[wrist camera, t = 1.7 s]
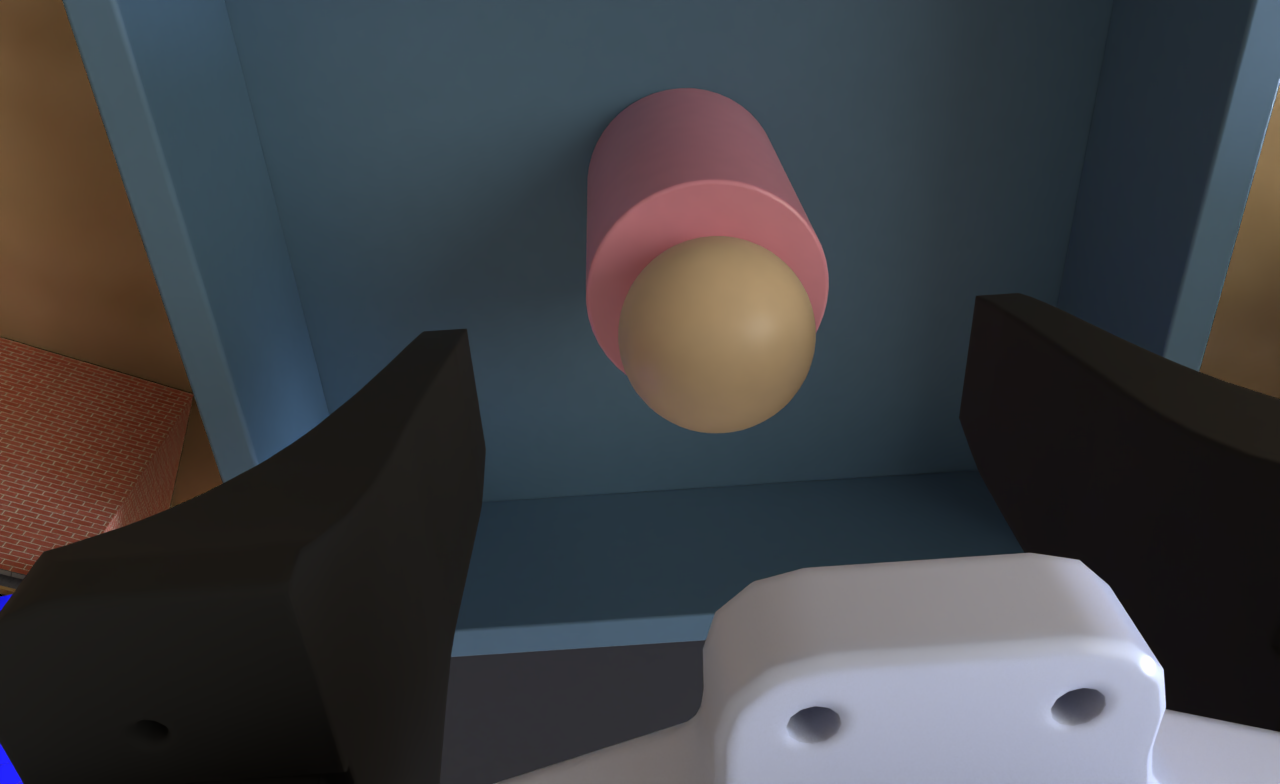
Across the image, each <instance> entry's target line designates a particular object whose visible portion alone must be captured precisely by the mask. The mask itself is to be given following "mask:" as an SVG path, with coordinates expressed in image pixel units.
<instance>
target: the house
mask: <svg viewBox="0 0 1280 784" xmlns="http://www.w3.org/2000/svg"><path fill="white" fill-rule="evenodd" d="M193 396H194V394H191V393H187V392H184V391H180V390H177V389H174V388H170V387H167V386H163V385H160V384H157V383H153V382H150V381H147V380H143V379H140V378H136V377H133V376H130V375H126V374H123V373H120V372H116V371H113V370H109V369H106V368H103V367H99V366H96V365H92V364H89V363H86V362H82V361H79V360H76V359H72V358H69V357H65V356H62V355H59V354H55V353H52V352H49V351H45V350H42V349H38V348H35V347H32V346H28V345H25V344H21V343H18V342H15V341H11V340H8V339H5V338H1V337H0V594H3V595H6V596H0V611H1V610H2V608H3V607H4V606H5V604H6V603H7V601H8V600H9V599H10V597H11V596H12V594H13V593H14V592H15V590H16V589H17V587H18V586H19V585H20V583H21V582H22V580H23V579H24V578H25V576H26V575H27V573H28V572H29V571H30V569H31V568H32V566H33V565H34V564H35V562H36V561H37V560H38V558H39V557H40V556H41V554H42V553H43V552H44V551H48V550H51V549H55V548H58V547H62V546H65V545H68V544H71V543H74V542H77V541H80V540H83V539H87V538H90V537H93V536H96V535H99V534H102V533H105V532H108V531H111V530H115V529H118V528H121V527H124V526H126V525H129V524H132V523H134V522H137V521H140V520H142V519H145V518H147V517H150V516H152V515H155V514H157V513H160V512H162V511H165V510H167V509H170V504H171V499H172V494H173V490H174V485H175V480H176V476H177V471H178V466H179V461H180V457H181V452H182V447H183V443H184V438H185V433H186V429H187V424H188V419H189V414H190V410H191V405H192V400H193ZM0 784H23V782H22V780H21V779H20V777H19V775H18V773H17V772H16V770H15V768H14V766H13V765H12V763H11V761H10V759H9V758H8V756H7V754H6V752H5V751H4V749H3V747H2V746H1V744H0Z"/></svg>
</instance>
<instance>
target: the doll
mask: <svg viewBox="0 0 1280 784" xmlns="http://www.w3.org/2000/svg"><path fill="white" fill-rule="evenodd" d="M828 290H829V277H828V268H827V262H826V258H825V255H824V252H823V248H822V245H821V243H820V241H819V239H818V237H817V235H816V233H815V231H814V229H813V227H812V225H811V223H810V221H809V219H808V217H807V215H806V213H805V211H804V209H803V207H802V205H801V203H800V201H799V199H798V197H797V195H796V193H795V191H794V189H793V187H792V185H791V183H790V181H789V179H788V177H787V175H786V173H785V171H784V169H783V166H782V164H781V162H780V160H779V158H778V156H777V154H776V152H775V150H774V148H773V146H772V144H771V142H770V140H769V138H768V136H767V134H766V132H765V131H764V129H763V128H762V126H761V125H760V123H759V122H758V121H757V120H756V119H755V118H754V117H753V116H752V114H751V113H750V112H748V111H747V110H746V109H745V108H743V107H742V106H741V105H739V104H738V103H736V102H735V101H733V100H731V99H730V98H727V97H725V96H723V95H720V94H718V93H714V92H711V91H707V90H702V89H695V88H678V89H670V90H664V91H661V92H657V93H653V94H651V95H649V96H646V97H644V98H641V99H640V100H638V101H636V102H634V103H633V104H631V105H630V106H628V107H627V108H626V109H624V110H623V111H622V112H620V113H619V114H618V115H617V116H616V117H615V118H614V119H613V120H612V121H611V122H610V124H609V125H608V126H607V128H606V129H605V130H604V131H603V133H602V135H601V137H600V138H599V140H598V142H597V144H596V146H595V149H594V151H593V153H592V157H591V160H590V164H589V170H588V178H587V243H586V306H587V313H588V318H589V321H590V325H591V328H592V331H593V333H594V335H595V337H596V339H597V341H598V344H599V345H600V347H601V348H602V350H603V351H604V353H605V354H606V356H607V357H608V358H609V359H610V360H611V361H612V362H613V363H614V365H615V366H616V367H617V368H619V369H620V370H621V371H622V372H623V373H624V374H626V375H627V377H628V379H629V381H630V383H631V385H632V386H633V388H634V389H635V391H636V392H637V394H638V395H639V396H640V397H641V398H642V400H643V401H644V402H645V403H646V404H647V405H648V406H649V407H650V408H651V409H652V410H653V411H655V412H656V413H657V414H658V415H660V416H661V417H663V418H665V419H666V420H668V421H670V422H672V423H674V424H676V425H678V426H680V427H683V428H686V429H689V430H693V431H697V432H703V433H729V432H736V431H740V430H744V429H747V428H750V427H753V426H755V425H757V424H759V423H762V422H764V421H766V420H767V419H769V418H770V417H772V416H774V415H775V414H776V413H778V412H779V411H780V410H781V409H783V408H784V407H785V406H786V405H787V404H788V403H789V402H790V401H791V399H792V398H793V397H794V395H795V394H796V393H797V392H798V390H799V389H800V387H801V385H802V384H803V382H804V380H805V379H806V376H807V374H808V372H809V369H810V366H811V363H812V359H813V356H814V351H815V343H816V332H817V330H818V328H819V325H820V323H821V320H822V318H823V315H824V312H825V308H826V304H827V298H828Z"/></svg>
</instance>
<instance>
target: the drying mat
mask: <svg viewBox="0 0 1280 784" xmlns="http://www.w3.org/2000/svg"><path fill="white" fill-rule="evenodd" d="M705 641H706V640H701V641H686V642H671V643H656V644H640V645H625V646H610V647H595V648H580V649H564V650H549V651H534V652H519V653H504V654H488V655H473V656H458V657H451V661H450V672H449V682H448V692H447V702H446V713H445V725H444V737H443V749H442V761H441V774H440V784H494V783H497V782H500V781H503V780H507V779H510V778H513V777H516V776H519V775H522V774H525V773H528V772H532V771H535V770H538V769H541V768H544V767H547V766H550V765H553V764H556V763H560V762H563V761H566V760H569V759H572V758H575V757H578V756H581V755H585V754H588V753H591V752H594V751H597V750H600V749H603V748H606V747H610V746H613V745H616V744H619V743H622V742H625V741H628V740H631V739H635V738H638V737H641V736H644V735H647V734H650V733H653V732H656V731H659V730H663V729H666V728H669V727H672V726H675V725H678V724H681V723H684V722H687V721H689V720H690V719H691V718H693V717H694V716H695V715H696V714H697V712H698V710H699V708H700V707H701V702H702V696H703V690H704V681H703V647H704V644H705Z"/></svg>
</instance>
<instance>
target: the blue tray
mask: <svg viewBox="0 0 1280 784" xmlns="http://www.w3.org/2000/svg"><path fill="white" fill-rule="evenodd" d="M62 1H63V4H64V7H65V10H66V13H67V16H68V19H69V22H70V25H71V28H72V31H73V34H74V37H75V40H76V43H77V46H78V49H79V52H80V55H81V58H82V61H83V64H84V67H85V70H86V73H87V76H88V79H89V82H90V85H91V88H92V91H93V94H94V97H95V100H96V103H97V106H98V109H99V112H100V115H101V118H102V121H103V124H104V127H105V130H106V133H107V136H108V139H109V142H110V145H111V148H112V151H113V154H114V157H115V160H116V163H117V166H118V169H119V172H120V175H121V178H122V181H123V184H124V187H125V190H126V193H127V196H128V199H129V202H130V205H131V208H132V211H133V214H134V217H135V220H136V223H137V226H138V229H139V232H140V235H141V238H142V241H143V244H144V247H145V250H146V253H147V256H148V259H149V262H150V265H151V268H152V271H153V274H154V277H155V280H156V283H157V286H158V289H159V292H160V295H161V298H162V301H163V304H164V307H165V310H166V313H167V316H168V319H169V322H170V325H171V328H172V331H173V334H174V337H175V340H176V343H177V346H178V349H179V352H180V355H181V358H182V361H183V364H184V367H185V370H186V373H187V376H188V379H189V382H190V385H191V388H192V391H193V394H194V397H195V400H196V403H197V407H198V410H199V413H200V416H201V419H202V422H203V425H204V428H205V431H206V434H207V437H208V440H209V443H210V446H211V449H212V452H213V455H214V458H215V461H216V464H217V467H218V470H219V473H220V476H221V479H222V482H223V483H225V482H226V481H228V480H230V479H232V478H234V477H236V476H238V475H240V474H242V473H244V472H245V471H247V470H249V469H251V468H253V467H255V466H257V465H258V464H260V463H262V462H263V461H265V460H267V459H268V458H270V457H272V456H273V455H275V454H276V453H278V452H279V451H281V450H282V449H284V448H286V447H287V446H289V445H290V444H292V443H293V442H295V441H296V440H298V439H299V438H300V437H302V436H303V435H305V434H306V433H308V432H309V431H310V430H312V429H313V428H314V427H316V426H317V425H318V424H319V423H321V422H322V421H323V420H324V419H326V418H327V417H328V416H329V415H330V414H332V413H333V412H334V411H335V410H337V409H338V408H339V407H340V406H341V405H343V404H344V403H345V402H346V401H348V400H349V399H350V398H351V397H353V396H354V395H355V394H356V393H357V392H358V391H360V390H361V389H362V388H363V387H364V386H365V385H366V384H367V383H368V382H369V381H370V380H372V379H373V378H374V377H375V376H376V375H377V374H378V373H379V372H380V371H381V370H382V369H383V368H385V367H386V366H387V365H388V364H389V363H390V362H391V361H392V360H393V359H394V358H395V357H396V356H397V355H398V354H399V353H400V352H401V351H402V350H403V349H404V348H405V347H406V346H408V345H409V344H410V343H411V342H412V341H413V340H414V339H415V338H416V337H417V336H418V335H420V334H421V333H422V332H423V331H436V330H452V329H467V333H468V340H469V346H470V352H471V358H472V365H473V371H474V377H475V384H476V390H477V396H478V402H479V409H480V415H481V421H482V428H483V434H484V440H485V446H486V455H485V472H484V487H483V499H482V508H481V513H480V518H479V523H478V527H477V532H476V537H475V542H474V546H473V551H472V555H471V560H470V564H469V569H468V574H467V578H466V583H465V587H464V592H463V596H462V601H461V605H460V610H459V614H458V619H457V624H456V628H455V635H454V641H453V647H452V653H451V657H458V656H473V655H488V654H504V653H519V652H534V651H549V650H564V649H580V648H595V647H610V646H625V645H640V644H656V643H671V642H686V641H701V640H706V638H707V635H708V632H709V629H710V626H711V624H712V621H713V618H714V615H715V612H716V611H717V610H719V609H720V608H721V607H722V606H724V605H725V604H726V603H727V602H728V601H730V600H731V599H732V598H733V597H735V596H736V595H737V594H738V593H739V592H741V591H742V590H743V589H744V588H746V587H747V586H748V585H749V584H751V583H752V582H754V581H757V580H761V579H765V578H769V577H772V576H776V575H780V574H784V573H787V572H791V571H795V570H798V569H802V568H810V567H825V566H840V565H855V564H870V563H884V562H899V561H914V560H929V559H944V558H959V557H974V556H989V555H1004V554H1019V553H1024V551H1023V549H1022V548H1021V546H1020V544H1019V542H1018V541H1017V539H1016V537H1015V536H1014V534H1013V532H1012V530H1011V529H1010V527H1009V525H1008V523H1007V522H1006V520H1005V518H1004V516H1003V515H1002V513H1001V511H1000V509H999V508H998V506H997V504H996V502H995V500H994V499H993V497H992V495H991V493H990V492H989V490H988V488H987V486H986V484H985V482H984V481H983V479H982V477H981V475H980V473H979V471H978V468H977V466H976V463H975V461H974V458H973V456H972V453H971V450H970V448H969V445H968V442H967V439H966V436H965V434H964V431H963V428H962V425H961V422H960V419H959V414H960V406H961V399H962V392H963V385H964V378H965V370H966V363H967V356H968V349H969V342H970V334H971V327H972V320H973V313H974V305H975V298H976V296H979V295H995V294H1010V293H1021V294H1024V295H1027V296H1030V297H1033V298H1036V299H1038V300H1040V301H1043V302H1045V303H1048V304H1050V305H1052V306H1054V307H1056V308H1059V309H1061V310H1063V311H1065V312H1067V313H1069V314H1071V315H1074V316H1076V317H1078V318H1080V319H1082V320H1084V321H1086V322H1088V323H1090V324H1092V325H1094V326H1096V327H1099V328H1101V329H1103V330H1105V331H1107V332H1109V333H1111V334H1113V335H1115V336H1118V337H1120V338H1122V339H1124V340H1126V341H1128V342H1130V343H1133V344H1135V345H1137V346H1139V347H1141V348H1144V349H1146V350H1148V351H1150V352H1153V353H1155V354H1157V355H1159V356H1162V357H1164V358H1167V359H1169V360H1171V361H1174V362H1176V363H1179V364H1181V365H1184V366H1186V367H1189V368H1191V369H1193V370H1196V371H1198V372H1199V371H1200V367H1201V363H1202V360H1203V356H1204V353H1205V349H1206V346H1207V342H1208V338H1209V335H1210V331H1211V328H1212V324H1213V321H1214V317H1215V313H1216V310H1217V306H1218V303H1219V299H1220V296H1221V292H1222V288H1223V285H1224V281H1225V278H1226V274H1227V270H1228V267H1229V263H1230V260H1231V256H1232V253H1233V249H1234V245H1235V242H1236V238H1237V235H1238V231H1239V228H1240V224H1241V220H1242V217H1243V213H1244V210H1245V206H1246V203H1247V199H1248V195H1249V192H1250V188H1251V185H1252V181H1253V178H1254V174H1255V170H1256V167H1257V163H1258V160H1259V156H1260V153H1261V149H1262V145H1263V142H1264V138H1265V135H1266V131H1267V127H1268V124H1269V120H1270V117H1271V113H1272V110H1273V106H1274V102H1275V99H1276V95H1277V92H1278V88H1279V85H1280V0H62ZM678 88H695V89H702V90H707V91H711V92H714V93H718V94H720V95H723V96H725V97H727V98H730V99H731V100H733V101H735V102H736V103H738V104H739V105H741V106H742V107H743V108H745V109H746V110H747V111H748V112H750V113H751V114H752V116H753V117H754V118H755V119H756V120H757V121H758V122H759V123H760V125H761V126H762V128H763V129H764V131H765V132H766V134H767V136H768V138H769V140H770V142H771V144H772V146H773V148H774V150H775V152H776V154H777V156H778V158H779V160H780V162H781V164H782V166H783V169H784V171H785V173H786V175H787V177H788V179H789V181H790V183H791V185H792V187H793V189H794V191H795V193H796V195H797V197H798V199H799V201H800V203H801V205H802V207H803V209H804V211H805V213H806V215H807V217H808V219H809V221H810V223H811V225H812V227H813V229H814V231H815V233H816V235H817V237H818V239H819V241H820V243H821V245H822V248H823V252H824V255H825V258H826V262H827V268H828V277H829V290H828V298H827V304H826V308H825V312H824V315H823V318H822V320H821V323H820V325H819V328H818V330H817V332H816V343H815V351H814V356H813V359H812V363H811V366H810V369H809V372H808V374H807V376H806V379H805V380H804V382H803V384H802V385H801V387H800V389H799V390H798V392H797V393H796V394H795V395H794V397H793V398H792V399H791V401H790V402H789V403H788V404H787V405H786V406H785V407H784V408H783V409H781V410H780V411H779V412H778V413H776V414H775V415H774V416H772V417H770V418H769V419H767V420H766V421H764V422H762V423H759V424H757V425H755V426H753V427H750V428H747V429H744V430H740V431H736V432H729V433H703V432H697V431H693V430H689V429H686V428H683V427H680V426H678V425H676V424H674V423H672V422H670V421H668V420H666V419H665V418H663V417H661V416H660V415H658V414H657V413H656V412H655V411H653V410H652V409H651V408H650V407H649V406H648V405H647V404H646V403H645V402H644V401H643V400H642V398H641V397H640V396H639V395H638V394H637V392H636V391H635V389H634V388H633V386H632V385H631V383H630V381H629V379H628V377H627V375H626V374H624V373H623V372H622V371H621V370H620V369H619V368H617V367H616V366H615V365H614V363H613V362H612V361H611V360H610V359H609V358H608V357H607V356H606V354H605V353H604V351H603V350H602V348H601V347H600V345H599V344H598V341H597V339H596V337H595V335H594V333H593V331H592V328H591V325H590V321H589V318H588V313H587V306H586V243H587V178H588V170H589V164H590V160H591V157H592V153H593V151H594V149H595V146H596V144H597V142H598V140H599V138H600V137H601V135H602V133H603V131H604V130H605V129H606V128H607V126H608V125H609V124H610V122H611V121H612V120H613V119H614V118H615V117H616V116H617V115H618V114H619V113H620V112H622V111H623V110H624V109H626V108H627V107H628V106H630V105H631V104H633V103H634V102H636V101H638V100H640V99H641V98H644V97H646V96H649V95H651V94H653V93H657V92H661V91H664V90H670V89H678Z"/></svg>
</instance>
